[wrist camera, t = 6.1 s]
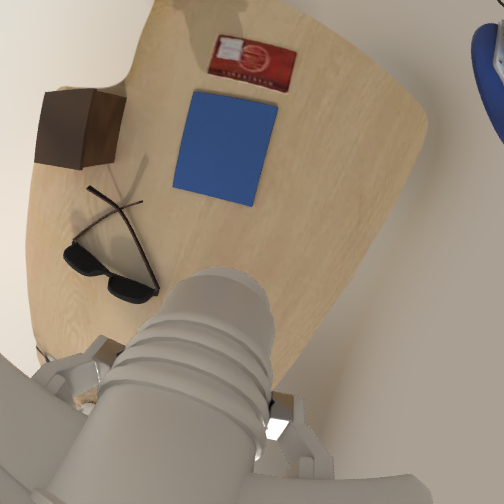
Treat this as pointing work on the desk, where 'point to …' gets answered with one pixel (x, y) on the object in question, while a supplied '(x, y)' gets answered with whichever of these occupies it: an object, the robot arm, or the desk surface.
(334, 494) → the robot arm
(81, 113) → the box
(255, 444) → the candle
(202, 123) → the cloth
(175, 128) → the desk surface
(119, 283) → the sunglasses
